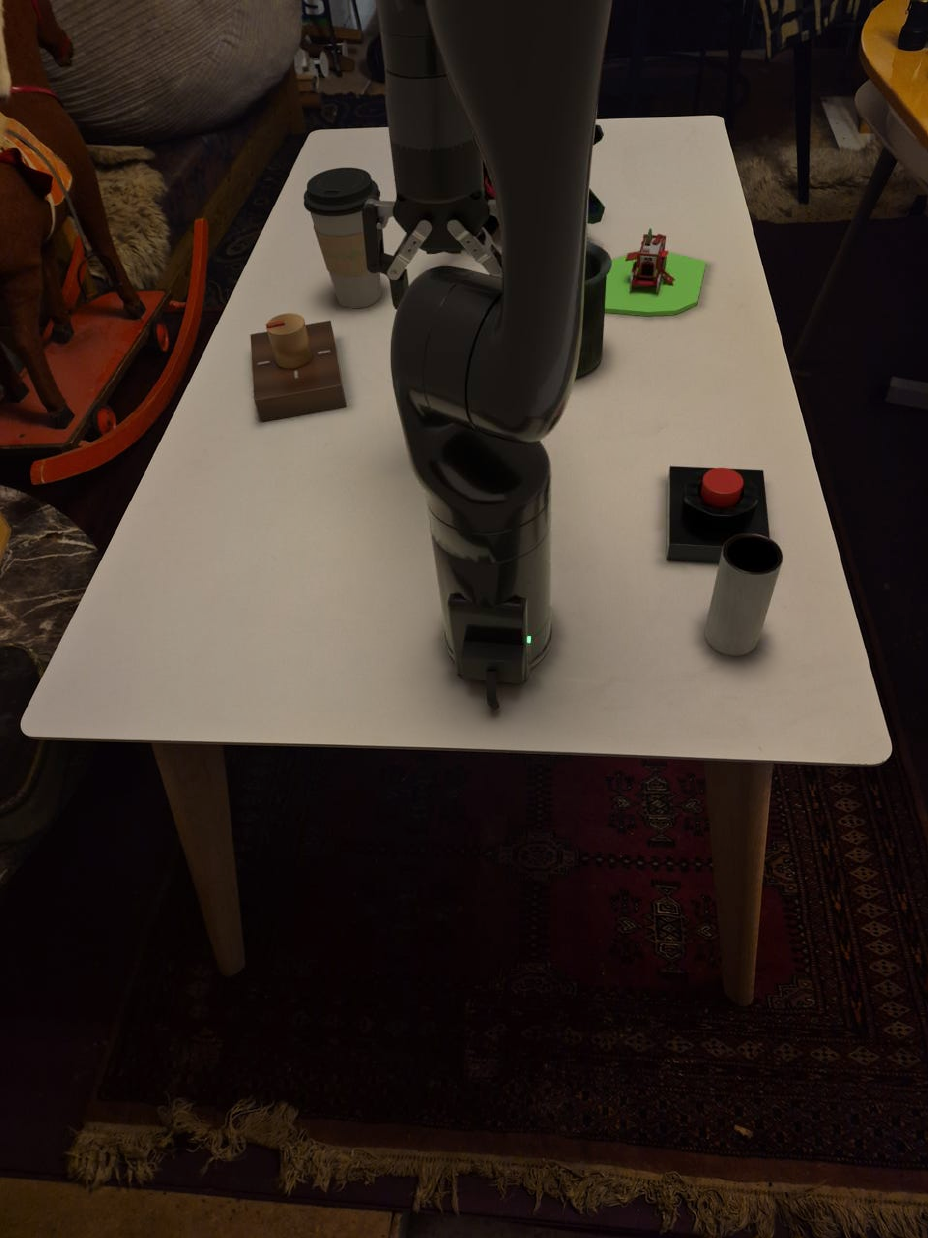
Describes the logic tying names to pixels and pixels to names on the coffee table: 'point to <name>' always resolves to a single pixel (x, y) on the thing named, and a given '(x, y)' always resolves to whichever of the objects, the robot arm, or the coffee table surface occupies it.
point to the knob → (289, 340)
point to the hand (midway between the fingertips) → (450, 311)
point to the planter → (742, 593)
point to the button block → (710, 515)
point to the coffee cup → (344, 232)
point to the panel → (297, 377)
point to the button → (721, 487)
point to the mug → (593, 307)
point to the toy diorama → (653, 281)
